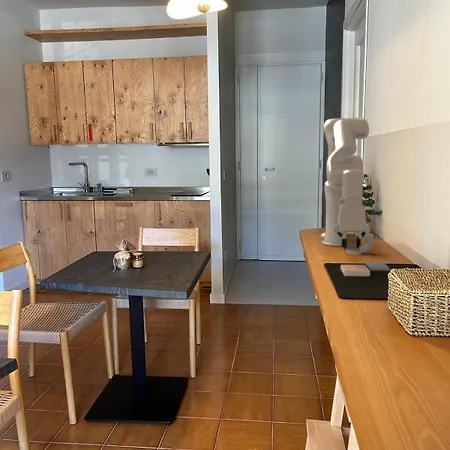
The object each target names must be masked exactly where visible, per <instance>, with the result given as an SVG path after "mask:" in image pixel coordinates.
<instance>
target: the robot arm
mask: <svg viewBox="0 0 450 450" xmlns="http://www.w3.org/2000/svg"><path fill="white" fill-rule="evenodd" d="M369 125H370V124H369V122H368V121H367V119H365V118H362V117H341V118H338V117H337V118H331V119H330V118H329V119H327V120H326V121H325V122H324V124H323V132H324V135H325V140H326V142H327V146H328V149H327V150H328V151H327V153H328V154H327V155H328V158H327V161H326V167H325V168H326V170H325V171H326V180H327V181H325V183H324V186H323V187H324V195H325V232H323V233H322V234H321V235H320V237H321V238H324V239H322V244H323V245H325V246H330V247H331V246H332V247H342V248H343V250H346V234H347V233H357V248H358V249H359V247H360V246H362V245H361V244H362V243H361V242H362V237H363V236H364V235H365V234H366V233H370V232H371V229H370V227H369V225H368V224H367V220H366V219H367V218H366V216H367V214H366V208H365V205H364V204H363V192H364V190H363V186H364V185H363V184H364V182H365V181H364V180H365V173H364V160H363V158H362V157H361V156H360V155H355V154H356V153H357V150H358V149H357V148H358V147H357V141H356V140H364V139H365V140H366V139H367V138H368V137H369V134H370V126H369Z"/></svg>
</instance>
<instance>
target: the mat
mask: <svg viewBox="0 0 450 450" xmlns="http://www.w3.org/2000/svg"><path fill="white" fill-rule="evenodd" d="M364 265H365V266H366V267H367V268H368V269H369V271H370V272H391V271H390V270H392V269H390V267H389V266H388V265H387V264H386V263H385V262H383V261H364Z"/></svg>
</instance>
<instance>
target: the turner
mask: <svg viewBox="0 0 450 450" xmlns="http://www.w3.org/2000/svg"><path fill="white" fill-rule="evenodd" d="M355 233H356V232H350V233H346V249H345V252H346V253H347V254H348V255H361V254H362V253H361V252H360V251H359V250H358V248H357V235H356V234H355Z"/></svg>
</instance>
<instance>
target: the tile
mask: <svg viewBox="0 0 450 450" xmlns="http://www.w3.org/2000/svg"><path fill="white" fill-rule="evenodd" d="M341 270H342V271H341ZM340 271H341V273H342V272H343V273H342V274H344V275H343V277H370V276H371V270H370V269H369V268H368V266H367V265H366V264H341V265H340Z"/></svg>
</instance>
